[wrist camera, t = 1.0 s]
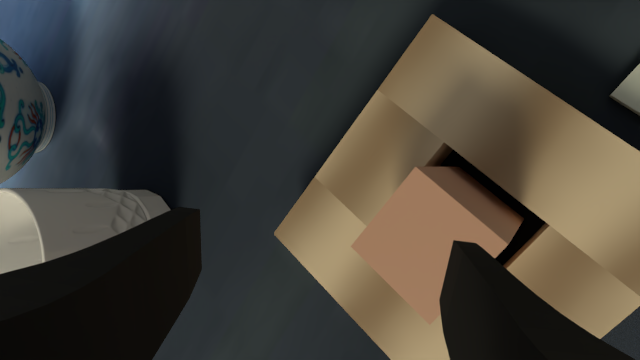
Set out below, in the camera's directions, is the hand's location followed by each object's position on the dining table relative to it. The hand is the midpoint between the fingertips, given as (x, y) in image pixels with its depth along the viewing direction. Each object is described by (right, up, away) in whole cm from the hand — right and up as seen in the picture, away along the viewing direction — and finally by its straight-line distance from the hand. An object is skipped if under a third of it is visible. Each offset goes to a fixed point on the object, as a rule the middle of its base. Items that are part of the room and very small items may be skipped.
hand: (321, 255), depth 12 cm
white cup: (-13, -2, +22) cm, 26 cm away
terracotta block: (+7, 0, +10) cm, 13 cm away
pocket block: (+7, 0, +10) cm, 13 cm away
